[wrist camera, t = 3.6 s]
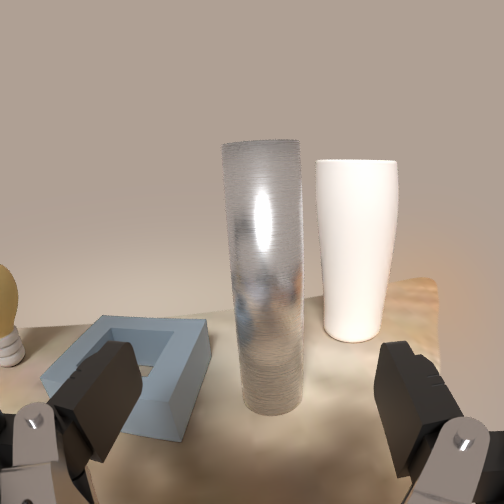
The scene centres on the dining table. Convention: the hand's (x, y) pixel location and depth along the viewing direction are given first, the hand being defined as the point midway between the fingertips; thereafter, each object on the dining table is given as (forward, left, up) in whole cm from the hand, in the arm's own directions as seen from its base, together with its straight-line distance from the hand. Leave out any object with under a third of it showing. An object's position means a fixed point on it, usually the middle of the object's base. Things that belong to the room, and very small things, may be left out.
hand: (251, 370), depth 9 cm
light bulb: (-25, +9, -9) cm, 28 cm away
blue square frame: (-10, +9, -9) cm, 16 cm away
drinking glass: (+7, +17, -9) cm, 21 cm away
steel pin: (0, +9, -9) cm, 12 cm away
